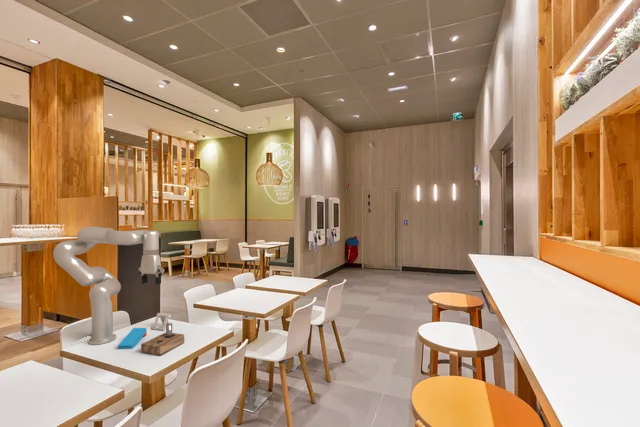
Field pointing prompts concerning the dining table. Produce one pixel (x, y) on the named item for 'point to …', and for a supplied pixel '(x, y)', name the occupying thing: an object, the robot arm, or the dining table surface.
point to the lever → (132, 338)
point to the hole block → (162, 344)
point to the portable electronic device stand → (164, 320)
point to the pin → (169, 330)
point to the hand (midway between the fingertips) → (151, 283)
